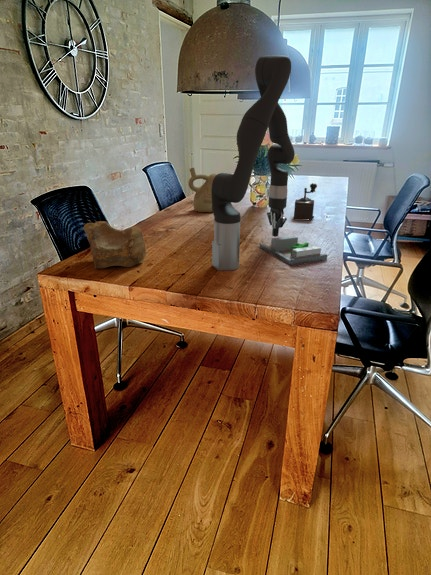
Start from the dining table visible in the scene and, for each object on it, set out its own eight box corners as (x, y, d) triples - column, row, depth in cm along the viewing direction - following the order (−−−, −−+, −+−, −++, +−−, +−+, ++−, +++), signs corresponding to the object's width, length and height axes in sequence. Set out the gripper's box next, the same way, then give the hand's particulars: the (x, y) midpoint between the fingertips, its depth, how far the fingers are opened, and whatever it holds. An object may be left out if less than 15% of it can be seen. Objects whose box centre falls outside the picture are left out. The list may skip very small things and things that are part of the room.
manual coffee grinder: (313, 220, 206) (317, 187, 199) (293, 219, 209) (296, 186, 201) (313, 214, 220) (317, 182, 213) (294, 213, 222) (297, 182, 215)
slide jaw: (274, 251, 156) (275, 240, 154) (270, 249, 159) (271, 238, 157) (296, 248, 160) (297, 237, 158) (292, 246, 163) (293, 235, 161)
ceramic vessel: (224, 212, 222) (225, 168, 212) (191, 214, 218) (190, 169, 208) (217, 207, 238) (217, 165, 227) (186, 208, 233) (185, 166, 223)
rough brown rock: (71, 271, 137) (64, 232, 130) (94, 253, 151) (89, 217, 144) (131, 279, 133) (127, 239, 125) (149, 260, 147) (146, 223, 140)
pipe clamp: (299, 251, 157) (300, 241, 156) (307, 253, 155) (308, 242, 154) (287, 258, 149) (288, 247, 147) (296, 260, 147) (297, 249, 145)
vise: (292, 265, 141) (293, 253, 139) (259, 247, 162) (260, 235, 160) (326, 260, 147) (328, 248, 145) (291, 243, 168) (292, 232, 166)
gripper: (262, 193, 162) (260, 233, 169) (278, 199, 151) (275, 241, 158) (277, 192, 165) (274, 231, 172) (294, 198, 154) (290, 239, 161)
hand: (275, 236), depth 165 cm, fingers closed
